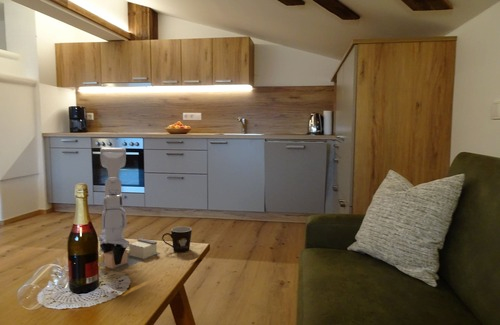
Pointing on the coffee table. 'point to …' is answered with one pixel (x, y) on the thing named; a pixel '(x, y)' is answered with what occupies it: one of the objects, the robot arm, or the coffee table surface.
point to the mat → (128, 261)
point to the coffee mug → (180, 239)
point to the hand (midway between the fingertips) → (113, 262)
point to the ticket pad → (143, 248)
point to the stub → (110, 259)
